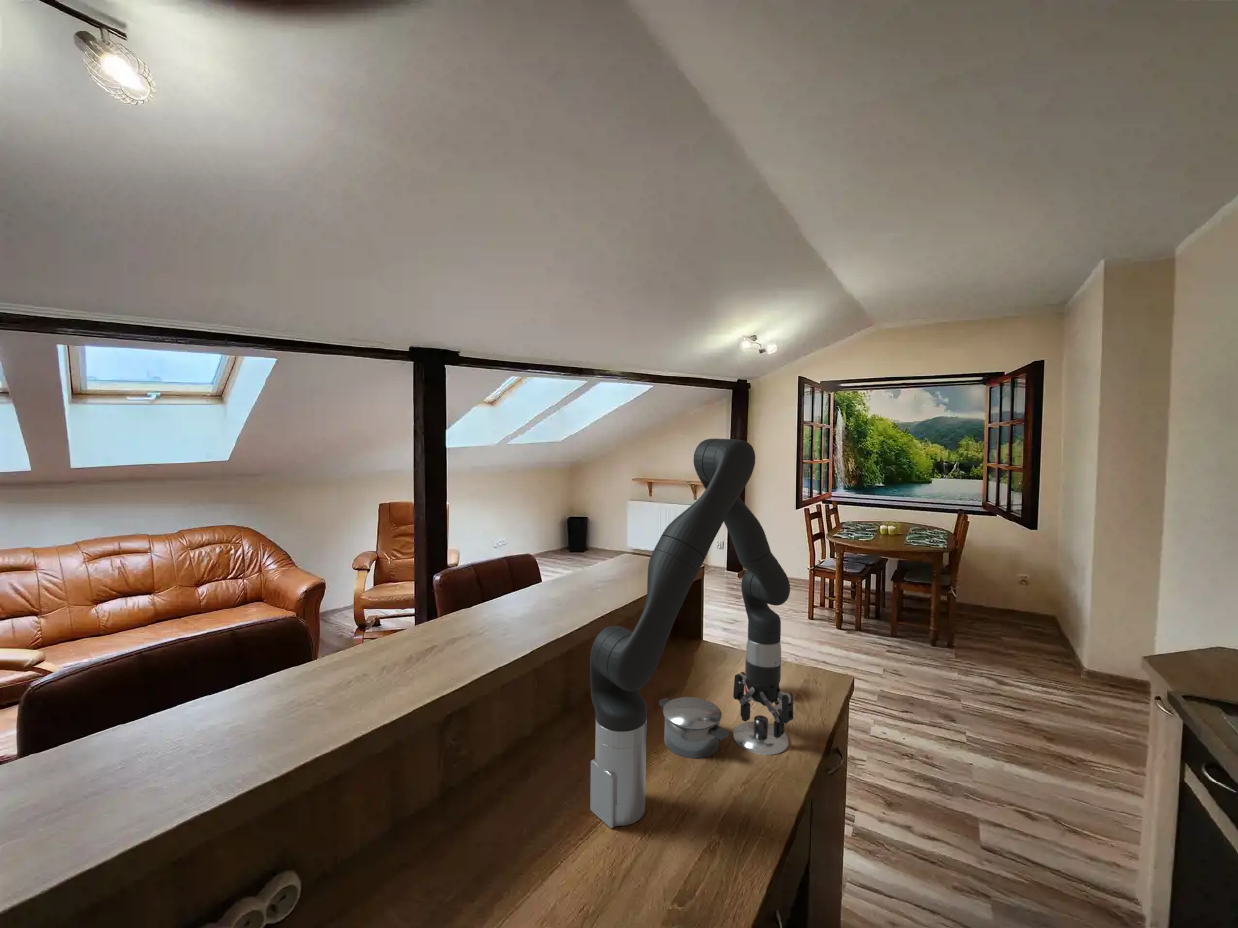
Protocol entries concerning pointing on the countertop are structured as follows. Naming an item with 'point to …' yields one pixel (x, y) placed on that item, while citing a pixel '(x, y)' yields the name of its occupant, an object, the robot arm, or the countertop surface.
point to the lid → (759, 737)
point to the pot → (692, 726)
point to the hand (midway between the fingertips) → (761, 727)
